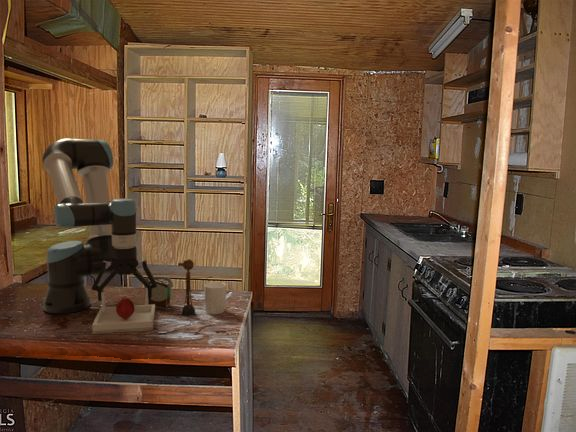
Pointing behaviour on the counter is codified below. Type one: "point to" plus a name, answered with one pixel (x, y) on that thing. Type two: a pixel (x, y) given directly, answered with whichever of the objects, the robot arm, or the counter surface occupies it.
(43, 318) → the counter surface
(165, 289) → the food container
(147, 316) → the tray
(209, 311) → the white cup
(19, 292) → the counter surface
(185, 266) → the wooden tabletop sculpture
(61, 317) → the counter surface
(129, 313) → the onion
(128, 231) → the robot arm
